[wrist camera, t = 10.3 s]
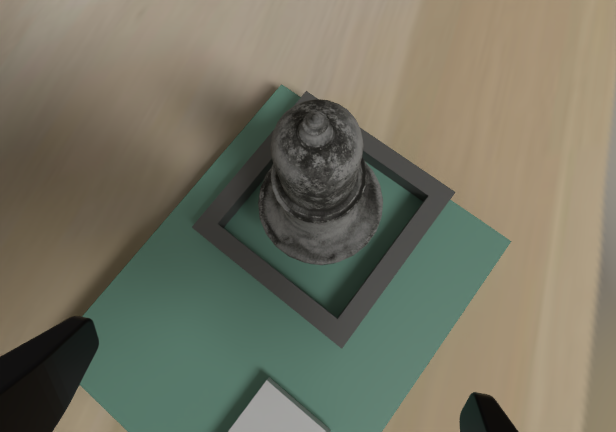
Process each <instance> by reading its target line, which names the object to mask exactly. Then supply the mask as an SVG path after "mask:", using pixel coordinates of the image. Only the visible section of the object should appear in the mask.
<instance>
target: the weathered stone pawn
mask: <svg viewBox="0 0 616 432" xmlns="http://www.w3.org/2000/svg"><path fill="white" fill-rule="evenodd" d="M271 155H272V160H273V166H272V167H271V169H270V170H269V171H268V173H267V174H266V176H265V178H264V181H263V183H262V185H261V188H260V193H259V200H258V208H259V216H260V221H261V223H262V225H263V228H264V230H265V233H266V235H267V236H268V237H269V238H270V240H271V241H272V242H273V244H274V245H275V246H276V247H277V248H278V249H280V250H281V251H282V252H284V253H285V254H286V255H288V256H289V257H291V258H294V259H296V260H299V261H301V262H304V263H309V264H315V265H327V264H334V263H337V262H340V261H342V260H345V259H347V258H349V257H351V256H354V255H355V254H356V253H357V252H359V251H360V250H361V249H362V248H364V247H365V246H366V245H367V244H368V242H369V241H370V240H371V238H372V237H373V235H374V234H375V233H376V231H377V228H378V225H379V223H380V220H381V217H382V208H383V197H382V192H381V187H380V184H379V182H378V180H377V178H376V176H375V174H374V172H373V170H372V169H371V168H370V167H369V166H368V164H367V163H366V162H365V161H364V159H363V157H362V155H363V138H362V133H361V129H360V127H359V125H358V123H357V121H356V119H355V118H354V117H353V115H352V114H351V113H350V112H349V111H348V110H347V109H345V108H344V107H342V106H341V105H339V104H337V103H334V102H331V101H328V100H318V99H315V100H309V101H304V102H302V103H299V104H297V105H295V106H293V107H292V108H290V109H289V110H288V111H286V112H285V113H284V114H283V116H282V117H281V118H280V119H279V121H278V122H277V124H276V127H275V129H274V131H273V135H272V141H271Z"/></svg>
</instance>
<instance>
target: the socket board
mask: <svg viewBox="0 0 616 432" xmlns="http://www.w3.org/2000/svg"><path fill="white" fill-rule="evenodd" d="M315 99H317V98H316V97H314V96H313V95H311V94H310V93H308V92H307V91H306V92H305V93H304V94H303V96H302V97H299V96H298V95H297V94H295V93H294V92H292V91H291V90H289V89H288V88H286V87H285V86H283V85H282V84H281V86H280V87H279V88H278V89H277V90H276V91H275V93H274V94H273V95H272V96H271V97H270V98H269V100H268V101H267V102H266V103H265V104H264V105H263V107H262V108H261V109H260V110H259V111H258V112H257V113H256V115H255V116H254V117H253V118H252V119H251V120H250V122H249V123H248V124H247V125H246V126H245V127H244V129H243V130H242V131H241V132H240V133H239V134H238V136H237V137H236V138H235V139H234V140H233V141H232V143H231V144H230V145H229V146H228V147H227V148H226V150H225V151H224V152H223V153H222V154H221V155H220V157H219V158H218V159H217V160H216V161H215V162H214V164H213V165H212V166H211V167H210V168H209V169H208V171H207V172H206V173H205V174H204V175H203V176H202V178H201V179H200V180H199V181H198V182H197V183H196V185H195V186H194V187H193V188H192V189H191V190H190V192H189V193H188V194H187V195H186V196H185V197H184V198H183V200H182V201H181V202H180V203H179V204H178V205H177V207H176V208H175V209H174V210H173V211H172V212H171V214H170V215H169V216H168V217H167V218H166V219H165V221H164V222H163V223H162V224H161V225H160V226H159V228H158V229H157V230H156V231H155V232H154V233H153V235H152V236H151V237H150V238H149V239H148V240H147V242H146V243H145V244H144V245H143V246H142V247H141V249H140V250H139V251H138V252H137V253H136V254H135V256H134V257H133V258H132V259H131V260H130V261H129V263H128V264H127V265H126V266H125V267H124V268H123V270H122V271H121V272H120V273H119V274H118V275H117V277H116V278H115V279H114V280H113V281H112V282H111V283H110V285H109V286H108V287H107V288H106V289H105V290H104V292H103V293H102V294H101V295H100V296H99V297H98V299H97V300H96V301H95V302H94V303H93V304H92V306H91V307H90V308H89V309H88V310H87V311H86V313H85V314H84V315H83V316H82V317H86V318H90V319H92V320H93V322H94V325H95V328H96V331H97V335H98V338H99V347H98V350H97V352H96V354H95V356H94V358H93V360H92V361H91V363H90V365H89V367H88V369H87V371H86V373H85V375H84V377H83V379H82V381H81V383H80V385H81V386H82V387H83V388H84V389H85V390H86V391H87V392H88V393H89V394H90V395H91V396H92V397H93V398H94V399H95V400H96V401H97V402H98V403H99V404H100V405H101V406H102V407H103V408H104V409H105V410H106V411H107V412H108V413H109V414H110V415H111V416H112V417H113V418H114V419H115V420H117V421H118V422H119V423H120V424H121V425H122V426H123V427H124V428H125V429H126V430H127V431H128V432H382V431H383V429H384V428H385V426H386V425H387V423H388V422H389V420H390V419H391V417H392V416H393V415H394V413H395V412H396V410H397V409H398V407H399V406H400V404H401V403H402V401H403V400H404V398H405V397H406V395H407V394H408V392H409V391H410V390H411V388H412V387H413V385H414V384H415V382H416V381H417V379H418V378H419V376H420V375H421V373H422V372H423V370H424V369H425V367H426V366H427V365H428V363H429V362H430V360H431V359H432V357H433V356H434V354H435V353H436V351H437V350H438V348H439V347H440V345H441V344H442V342H443V341H444V340H445V338H446V337H447V335H448V334H449V332H450V331H451V329H452V328H453V326H454V325H455V323H456V322H457V320H458V319H459V317H460V316H461V315H462V313H463V312H464V310H465V309H466V307H467V306H468V304H469V303H470V301H471V300H472V298H473V297H474V295H475V294H476V292H477V291H478V290H479V288H480V287H481V285H482V284H483V282H484V281H485V279H486V278H487V276H488V275H489V273H490V272H491V270H492V269H493V267H494V266H495V265H496V263H497V262H498V260H499V259H500V257H501V256H502V254H503V253H504V251H505V250H506V248H507V247H508V245H509V244H510V242H511V241H510V240H509V239H507V238H506V237H504V236H503V235H501V234H500V233H498V232H497V231H495V230H494V229H492V228H491V227H490V226H488V225H487V224H485V223H484V222H482V221H481V220H479V219H478V218H476V217H475V216H473V215H472V214H471V213H469V212H468V211H466V210H465V209H463V208H462V207H460V206H459V205H457V204H456V203H454V202H453V201H452V200H450V199H451V198H452V196H453V195H454V194H455V192H454V191H453V190H451V189H450V188H448V187H447V186H445V185H444V184H443V183H441V182H440V181H438V180H437V179H435V178H434V177H432V176H431V175H429V174H428V173H426V172H425V171H423V170H422V169H420V168H419V167H417V166H416V165H414V164H413V163H412V162H410V161H409V160H407V159H406V158H404V157H403V156H401V155H400V154H398V153H397V152H395V151H394V150H392V149H391V148H389V147H388V146H386V145H385V144H384V143H382V142H381V141H379V140H378V139H376V138H375V137H373V136H372V135H370V134H369V133H367V132H366V131H364V130H363V129H361V128H360V129H361V133H362V138H363V155H362V157H363V159H364V161H365V162H366V163H367V164H368V166H369V167H370V168H371V169H372V170H373V172H374V174H375V176H376V178H377V180H378V182H379V184H380V187H381V192H382V197H383V208H382V217H381V220H380V223H379V225H378V228H377V231H376V233H375V234H374V235H373V237H372V238H371V240H370V241H369V242H368V244H367V245H366V246H365V247H364V248H362V249H361V250H360V251H359V252H357V253H356V254H355V255H354V256H351V257H349V258H347V259H345V260H342V261H340V262H337V263H334V264H327V265H315V264H309V263H304V262H301V261H299V260H296V259H294V258H291V257H289V256H288V255H286V254H285V253H284V252H282V251H281V250H280V249H278V248H277V247H276V246H275V245H274V244H273V242H272V241H271V240H270V238H269V237H268V236H267V235H266V233H265V230H264V228H263V225H262V223H261V221H260V216H259V208H258V200H259V193H260V188H261V185H262V183H263V181H264V178H265V176H266V174H267V173H268V171H269V170H270V169H271V167H272V166H273V160H272V155H271V141H272V135H273V131H274V129H275V127H276V124H277V122H278V121H279V119H280V118H281V117H282V116H283V114H284V113H285V112H286V111H288V110H289V109H290V108H292V107H293V106H295V105H297V104H299V103H302V102H304V101H309V100H315ZM318 100H319V99H318Z"/></svg>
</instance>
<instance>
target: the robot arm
mask: <svg viewBox="0 0 616 432" xmlns="http://www.w3.org/2000/svg"><path fill="white" fill-rule="evenodd" d="M98 347H99V338H98V335H97V331H96V328H95V325H94V322H93V320H92V319H90V318H86V317H81V316H73V317H71V318H69V319H67V320H65V321H63V322H61V323H60V324H58V325H56V326H54V327H53V328H51V329H49V330H47V331H45V332H44V333H42V334H40V335H38V336H36V337H35V338H33V339H31V340H29V341H27V342H26V343H24V344H22V345H20V346H19V347H17V348H15V349H13V350H11V351H10V352H8V353H6V354H4V355H2V356H1V357H0V432H53V430H54V428H55V427H56V425H57V424H58V422H59V421H60V419H61V417H62V416H63V414H64V413H65V411H66V409H67V407H68V405H69V404H70V402H71V400H72V398H73V396H74V394H75V392H76V390H77V388H78V386H79V385H80V383H81V381H82V379H83V377H84V375H85V373H86V371H87V369H88V367H89V365H90V363H91V361H92V360H93V358H94V356H95V354H96V352H97V350H98ZM460 432H518V430H517V429H516V428H515V426H514V425H513V423H512V422H511V421H510V419H509V418H508V417H507V415H506V414H505V412H504V411H503V410H502V408H501V407H500V405H499V404H498V403H497V401H496V400H495V399H494V398H493V397H492V396H490V395H487V394H482V393H477V392H473V393H472V394H471V395H470V396H469V398H468V400H467V402H466V404H465V406H464V407H463V409H462V411H461V414H460Z"/></svg>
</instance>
